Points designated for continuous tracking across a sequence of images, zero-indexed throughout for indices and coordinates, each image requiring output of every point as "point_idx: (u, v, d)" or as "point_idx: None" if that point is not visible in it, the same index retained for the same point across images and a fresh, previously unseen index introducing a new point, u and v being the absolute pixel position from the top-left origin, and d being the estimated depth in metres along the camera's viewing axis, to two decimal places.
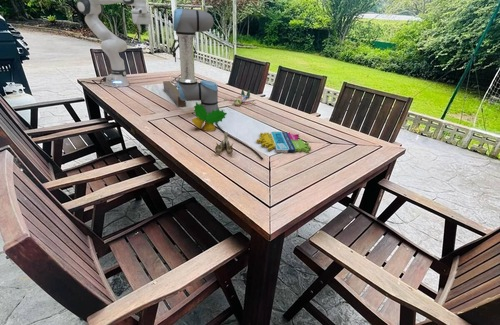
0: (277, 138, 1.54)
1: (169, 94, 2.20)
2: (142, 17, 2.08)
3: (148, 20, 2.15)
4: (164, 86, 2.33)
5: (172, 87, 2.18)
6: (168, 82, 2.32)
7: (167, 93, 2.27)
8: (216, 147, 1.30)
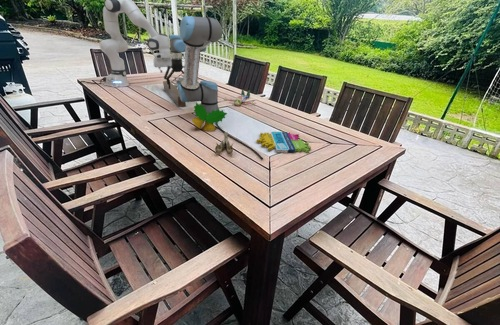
0: (277, 138, 1.54)
1: (169, 94, 2.20)
2: (164, 61, 2.19)
3: None
4: (164, 86, 2.33)
5: (172, 87, 2.18)
6: None
7: (167, 93, 2.27)
8: (216, 147, 1.30)
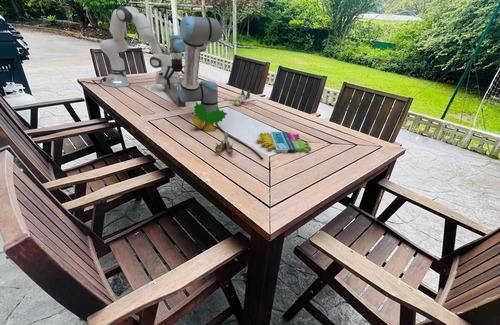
0: (277, 138, 1.54)
1: (169, 94, 2.20)
2: None
3: (174, 80, 2.30)
4: (164, 86, 2.33)
5: (172, 87, 2.18)
6: None
7: (167, 93, 2.27)
8: (216, 147, 1.30)
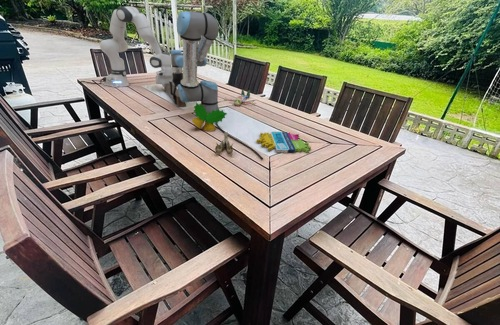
0: (277, 138, 1.54)
1: (169, 94, 2.20)
2: (166, 78, 2.26)
3: None
4: (164, 86, 2.33)
5: (172, 87, 2.18)
6: None
7: (167, 93, 2.27)
8: (216, 147, 1.30)
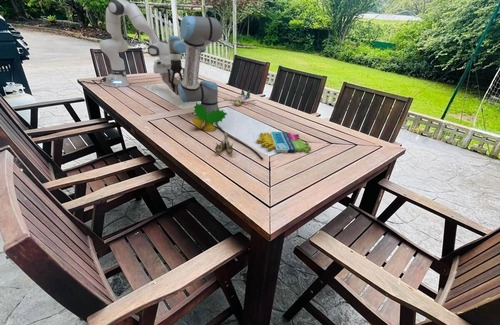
0: (277, 138, 1.54)
1: (167, 83, 2.15)
2: (164, 67, 2.21)
3: None
4: None
5: (170, 76, 2.13)
6: None
7: None
8: (216, 147, 1.30)
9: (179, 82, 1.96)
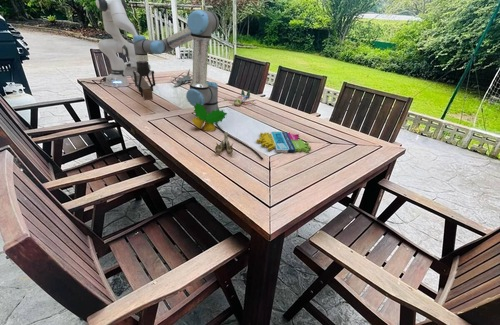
0: (277, 138, 1.54)
1: None
2: (135, 70, 2.05)
3: None
4: None
5: None
6: None
7: None
8: (216, 147, 1.30)
9: (147, 86, 1.80)
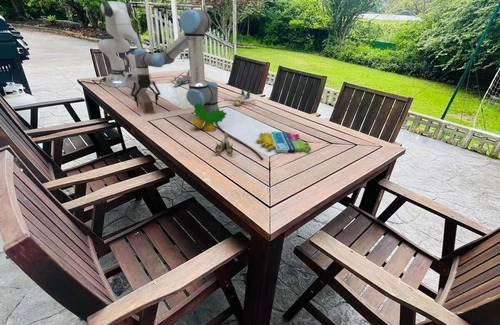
0: (277, 138, 1.54)
1: (139, 99, 2.03)
2: (136, 80, 2.09)
3: None
4: (135, 90, 2.16)
5: (141, 91, 2.01)
6: None
7: (137, 97, 2.10)
8: (216, 147, 1.30)
9: (148, 99, 1.84)
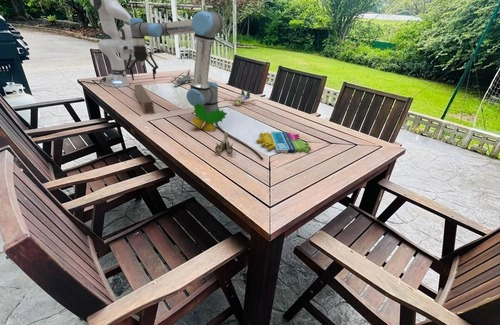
0: (277, 138, 1.54)
1: (139, 99, 2.03)
2: (132, 53, 1.99)
3: None
4: (135, 90, 2.16)
5: (141, 91, 2.01)
6: (139, 85, 2.15)
7: (137, 97, 2.10)
8: (216, 147, 1.30)
9: (148, 99, 1.84)
